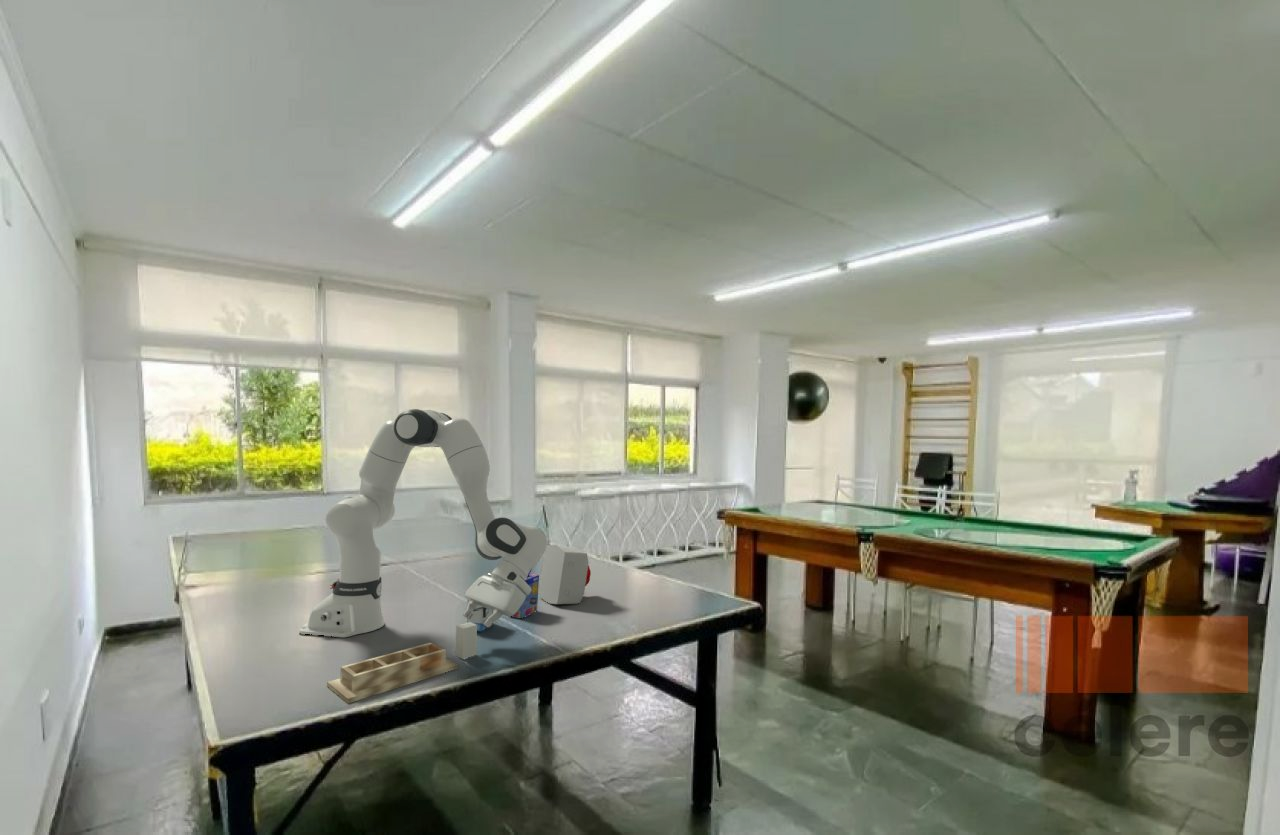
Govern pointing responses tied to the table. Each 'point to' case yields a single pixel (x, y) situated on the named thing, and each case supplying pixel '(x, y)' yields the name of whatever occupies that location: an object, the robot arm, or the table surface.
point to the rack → (390, 671)
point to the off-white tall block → (466, 640)
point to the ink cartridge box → (529, 597)
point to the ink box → (479, 616)
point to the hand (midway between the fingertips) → (475, 621)
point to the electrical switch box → (563, 575)
